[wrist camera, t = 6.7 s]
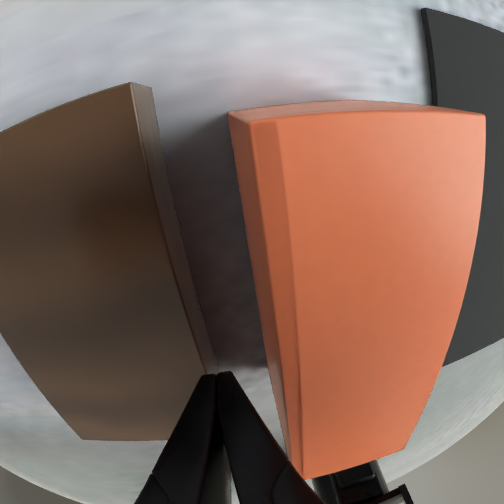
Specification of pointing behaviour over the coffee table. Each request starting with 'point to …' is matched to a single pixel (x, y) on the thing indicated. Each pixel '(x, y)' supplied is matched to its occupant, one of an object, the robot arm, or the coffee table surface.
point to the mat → (496, 163)
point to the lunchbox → (357, 263)
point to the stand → (99, 268)
